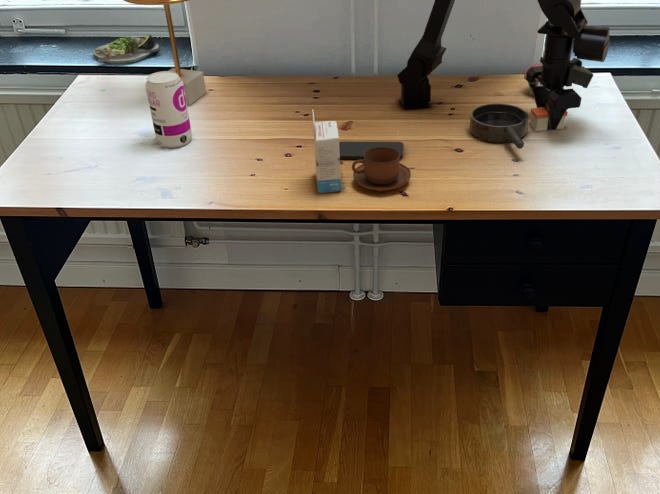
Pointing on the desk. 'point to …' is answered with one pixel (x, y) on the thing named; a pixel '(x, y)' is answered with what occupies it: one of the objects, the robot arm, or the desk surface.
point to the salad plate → (127, 50)
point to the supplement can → (168, 109)
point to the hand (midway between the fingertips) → (547, 123)
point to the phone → (365, 148)
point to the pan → (497, 122)
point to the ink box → (327, 156)
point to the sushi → (543, 119)
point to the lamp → (190, 78)
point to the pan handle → (514, 137)
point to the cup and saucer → (381, 170)
